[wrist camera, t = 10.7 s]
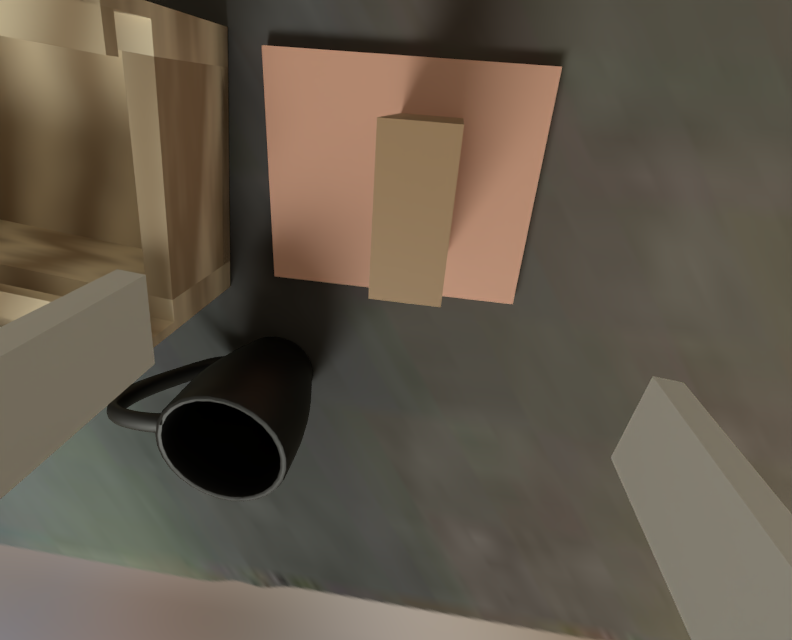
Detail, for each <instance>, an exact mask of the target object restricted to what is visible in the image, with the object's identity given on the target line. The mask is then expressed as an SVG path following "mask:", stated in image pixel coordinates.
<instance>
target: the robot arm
mask: <svg viewBox="0 0 792 640" xmlns="http://www.w3.org/2000/svg"><path fill="white" fill-rule="evenodd" d="M154 364H155V361H154V351H153V341H152V331H151V322H150V312H149V302H148V292H147V283H146V275H144V274H139V273H134V272H129V271H124V270H119V269H116V270H114V271H112V272H110V273H108V274H106V275H104V276H102V277H100V278H98V279H96V280H94V281H92V282H90V283H88V284H86V285H84V286H82V287H80V288H78V289H76V290H74V291H72V292H70V293H68V294H66V295H64V296H62V297H60V298H58V299H56V300H54V301H52V302H50V303H48V304H46V305H44V306H42V307H40V308H38V309H36V310H34V311H32V312H30V313H28V314H26V315H24V316H22V317H20V318H18V319H16V320H14V321H12V322H10V323H8V324H6V325H4V326H2V327H0V499H1V498H2V497H3V496H5V495H6V494H7V493H8V492H9V491H10V490H11V489H13V488H14V487H15V486H16V485H17V484H18V483H19V482H21V481H22V480H23V479H24V478H25V477H26V476H27V475H28V474H30V473H31V472H32V471H33V470H34V469H35V468H36V467H38V466H39V465H40V464H41V463H42V462H43V461H44V460H46V459H47V458H48V457H49V456H50V455H51V454H52V453H54V452H55V451H56V450H57V449H58V448H59V447H60V446H62V445H63V444H64V443H65V442H66V441H67V440H68V439H70V438H71V437H72V436H73V435H74V434H75V433H76V432H78V431H79V430H80V429H81V428H82V427H83V426H84V425H85V424H87V423H88V422H89V421H90V420H91V419H92V418H93V417H95V416H96V415H97V414H98V413H99V412H100V411H101V410H103V409H104V408H105V407H106V406H107V405H108V404H109V403H111V402H112V401H113V400H114V399H115V398H116V397H117V396H119V395H120V394H121V393H122V392H123V391H124V390H125V389H127V388H128V387H129V386H130V385H131V384H132V383H133V382H135V381H136V380H137V379H138V378H139V377H140V376H141V375H142V374H144V373H145V372H146V371H147V370H148V369H149V368H150V367H152V366H153V365H154ZM611 460H612V462H613V464H614V466H615V469H616V471H617V473H618V475H619V478H620V480H621V482H622V484H623V487H624V489H625V491H626V494H627V496H628V498H629V500H630V503H631V505H632V507H633V509H634V512H635V514H636V516H637V518H638V521H639V523H640V525H641V527H642V530H643V532H644V534H645V536H646V539H647V541H648V543H649V546H650V548H651V550H652V552H653V555H654V557H655V559H656V561H657V564H658V566H659V568H660V570H661V573H662V575H663V577H664V579H665V582H666V584H667V586H668V588H669V591H670V593H671V595H672V597H673V600H674V602H675V604H676V607H677V609H678V611H679V613H680V616H681V618H682V620H683V622H684V625H685V627H686V629H687V631H688V634H689V636H690V638H691V640H792V514H791V513H790V512H789V510H788V509H787V508H786V507H785V506H784V504H783V503H782V502H781V501H780V499H779V498H778V497H777V496H776V495H775V493H774V492H773V491H772V490H771V489H770V487H769V486H768V485H767V484H766V482H765V481H764V480H763V479H762V478H761V476H760V475H759V474H758V473H757V471H756V470H755V469H754V468H753V467H752V465H751V464H750V463H749V462H748V460H747V459H746V458H745V457H744V456H743V454H742V453H741V452H740V451H739V450H738V448H737V447H736V446H735V445H734V443H733V442H732V441H731V440H730V439H729V437H728V436H727V435H726V434H725V432H724V431H723V430H722V429H721V428H720V426H719V425H718V424H717V423H716V421H715V420H714V419H713V418H712V417H711V415H710V414H709V413H708V412H707V411H706V409H705V408H704V407H703V406H702V404H701V403H700V402H699V401H698V400H697V398H696V397H695V396H694V395H693V393H692V392H691V391H690V390H689V389H688V387H687V386H686V385H685V384H684V382H679V381H674V380H669V379H664V378H659V377H654V376H653V377H652V379H651V381H650V383H649V385H648V387H647V388H646V390H645V392H644V394H643V396H642V398H641V400H640V402H639V404H638V406H637V408H636V410H635V412H634V414H633V416H632V417H631V419H630V421H629V423H628V425H627V427H626V429H625V431H624V433H623V435H622V437H621V439H620V441H619V443H618V445H617V446H616V448H615V450H614V452H613V454H612V456H611Z"/></svg>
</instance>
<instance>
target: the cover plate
mask: <svg viewBox="0 0 792 640" xmlns="http://www.w3.org/2000/svg"><path fill="white" fill-rule="evenodd" d="M262 59H263V78H264V96H265V114H266V132H267V150H268V168H269V186H270V204H271V223H272V241H273V259H274V276H276V277H284V278H293V279H301V280H310V281H318V282H327V283H336V284H344V285H353V286H361V287H369V298H368V299H376V300H385V301H393V302H401V303H410V304H418V305H426V306H435V307H441V301H442V296H447V297H455V298H464V299H472V300H481V301H489V302H498V303H506V304H513V300H514V295H515V291H516V286H517V281H518V276H519V271H520V267H521V262H522V257H523V252H524V247H525V243H526V238H527V233H528V228H529V223H530V219H531V214H532V209H533V204H534V200H535V195H536V190H537V185H538V180H539V176H540V171H541V166H542V161H543V156H544V152H545V147H546V142H547V137H548V132H549V128H550V123H551V118H552V113H553V108H554V104H555V99H556V94H557V89H558V84H559V80H560V75H561V70H562V67H559V66H545V65H531V64H517V63H503V62H489V61H475V60H461V59H447V58H433V57H419V56H406V55H392V54H378V53H364V52H350V51H336V50H322V49H308V48H294V47H280V46H266V45H262Z"/></svg>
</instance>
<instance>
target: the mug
mask: <svg viewBox="0 0 792 640" xmlns="http://www.w3.org/2000/svg"><path fill="white" fill-rule="evenodd" d="M312 376H313V370H312V365H311V362H310V360H309V358H308V356H307V355H306V354H305V352H304V351H303V350H302V349H301V348H300V347H299V346H297V345H296V344H294V343H293V342H291V341H289V340H286V339H283V338H279V337H265V338H261V339H258V340H256V341H254V342H253V343H251V344H248V345H246V346H244V347H241V348H239V349H237V350H235V351H233V352H232V353H230V354H228V355H226V356H221V357H214V358H210V359H206V360H202V361H199V362H195V363H192V364H189V365H186V366H182V367H179V368H176V369H173V370H170V371H167V372H164V373H161V374H158V375H155V376H152V377H149V378H146V379H143V380H141V381H138V382H136V383H133V384H131V385H130V386H129V387H128V388H127V389H125V390H124V391H123V392H122V393H121V394H120V395H119V396H117V397H116V398H115V399H114V400H113V401H112V402H111V403H109V404H108V406H107V415H108V418H109V419H110V420H111V421H113V422H114V423H115V424H117V425H119V426H122V427H125V428H129V429H134V430H139V431H145V432H153V433H155V435H156V441H157V446H158V448H159V451H160V453H161V455H162V457H163V459H164V460H165V462H166V463H167V465H168V466H169V467H170V469H171V470H172V471H173V472H174V473H175V474H176V475H177V476H178V477H179V478H181V479H182V480H183V481H185V482H186V483H187V484H189V485H190V486H192V487H193V488H195V489H197V490H199V491H201V492H203V493H205V494H208V495H211V496H213V497H216V498H220V499H225V500H230V501H249V500H255V499H259V498H261V497H264V496H267V495H268V494H270V493H271V492H272V491H274V490H275V489H277V488H278V487H279V485H280V484H281V483H282V481H283V480H284V478H285V476H286V474H287V472H288V470H289V468H290V466H291V464H292V461H293V459H294V457H295V455H296V453H297V450H298V448H299V446H300V444H301V441H302V438H303V435H304V431H305V428H306V425H307V421H308V416H309V411H310V403H311V386H312ZM188 381H191V382H190V383H189V384H188V385H187V386H186V387H185V388H184V389H183V390H182V391H181V392H180V393H179V394H178V395H177V396H176V397H175V398H174V399H173V400H172V401H171V402H170V403H169V404H168V405H167V407H166V408H165V409H164V410H163V411H162V413H146V412H138V411H133V410H129V409H126V408H128V407H129V406H131V405H132V404H134V403H136V402H137V401H139V400H141V399H144V398H146V397H148V396H150V395H153V394H155V393H158V392H160V391H163V390H166V389H168V388H171V387H174V386H177V385H180V384H182V383H185V382H188Z"/></svg>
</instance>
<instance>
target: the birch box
mask: <svg viewBox="0 0 792 640" xmlns="http://www.w3.org/2000/svg"><path fill="white" fill-rule="evenodd" d="M116 269H119V270H124V271H129V272H134V273H139V274H144V275H146V283H147V292H148V302H149V312H150V322H151V331H152V341H153V348H154V347H155V346H156V345H158V344H159V343H160V342H161V341H163V340H164V339H165V338H166V337H168V336H169V335H170V334H171V333H173V332H174V331H175V330H176V329H178V328H179V327H180V326H181V325H183V324H184V323H185V322H186V321H188V320H189V319H190V318H191V317H193V316H194V315H195V314H196V313H198V312H199V311H200V310H201V309H203V308H204V307H205V306H206V305H208V304H209V303H210V302H211V301H213V300H214V299H215V298H216V297H218V296H219V295H220V294H221V293H223V292H224V291H225V290H226V289H228V288H229V287H230V213H229V112H228V27H226V26H223V25H220V24H217V23H214V22H210V21H207V20H204V19H201V18H198V17H195V16H192V15H189V14H186V13H182V12H179V11H176V10H173V9H170V8H167V7H164V6H161V5H158V4H155V3H151V2H148V1H145V0H0V326H1V327H2V326H4V325H6V324H8V323H10V322H12V321H14V320H16V319H18V318H20V317H22V316H24V315H26V314H28V313H30V312H32V311H34V310H36V309H38V308H40V307H42V306H44V305H46V304H48V303H50V302H52V301H54V300H56V299H58V298H60V297H62V296H64V295H66V294H68V293H70V292H72V291H74V290H76V289H78V288H80V287H82V286H84V285H86V284H88V283H90V282H92V281H94V280H96V279H98V278H100V277H102V276H104V275H106V274H108V273H110V272H112V271H114V270H116Z"/></svg>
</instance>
